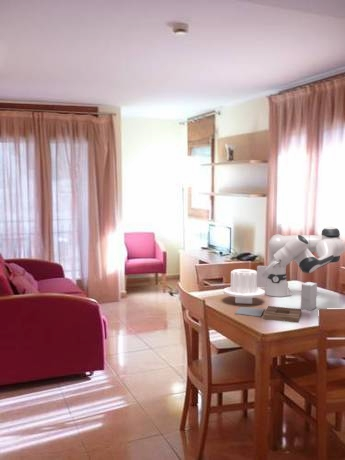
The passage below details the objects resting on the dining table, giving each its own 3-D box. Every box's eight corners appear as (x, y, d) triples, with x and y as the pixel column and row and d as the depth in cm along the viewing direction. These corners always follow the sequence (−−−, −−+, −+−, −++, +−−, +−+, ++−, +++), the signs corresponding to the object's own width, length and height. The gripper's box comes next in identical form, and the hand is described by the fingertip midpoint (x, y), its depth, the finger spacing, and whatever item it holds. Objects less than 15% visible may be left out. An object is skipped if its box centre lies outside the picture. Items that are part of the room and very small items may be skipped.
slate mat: (240, 307, 253) (240, 306, 253) (264, 310, 248) (264, 309, 248) (234, 314, 240) (234, 313, 240) (260, 316, 235) (260, 315, 235)
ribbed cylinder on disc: (264, 308, 252) (265, 275, 251) (221, 305, 257) (222, 274, 256) (264, 297, 277) (265, 268, 275) (225, 295, 282) (225, 266, 280)
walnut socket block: (268, 310, 248) (268, 305, 248) (301, 313, 241) (301, 309, 241) (263, 318, 231) (263, 314, 231) (298, 322, 225) (298, 317, 224)
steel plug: (258, 285, 242) (258, 265, 241) (267, 285, 240) (267, 266, 239) (256, 286, 237) (256, 266, 236) (265, 287, 235) (266, 267, 234)
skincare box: (306, 306, 257) (307, 281, 255) (316, 308, 252) (317, 282, 251) (300, 309, 250) (301, 283, 249) (310, 311, 246) (311, 285, 245)
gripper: (283, 266, 223) (263, 283, 228) (287, 260, 243) (269, 276, 247) (274, 257, 225) (255, 274, 229) (279, 252, 244) (261, 268, 248)
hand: (262, 275), depth 238 cm, fingers closed on steel plug, 5 cm apart
